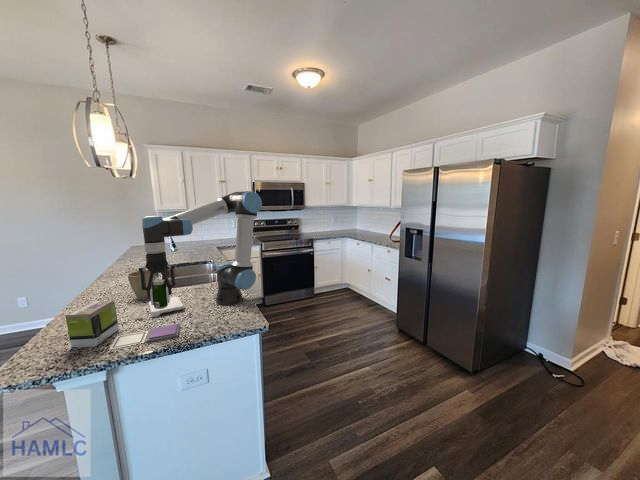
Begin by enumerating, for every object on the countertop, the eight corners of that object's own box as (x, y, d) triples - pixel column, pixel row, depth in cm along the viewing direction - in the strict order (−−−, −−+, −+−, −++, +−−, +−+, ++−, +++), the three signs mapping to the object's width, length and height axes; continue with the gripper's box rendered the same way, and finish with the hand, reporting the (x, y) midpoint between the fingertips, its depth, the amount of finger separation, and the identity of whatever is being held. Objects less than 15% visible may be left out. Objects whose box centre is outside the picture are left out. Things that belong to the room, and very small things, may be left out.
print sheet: (148, 331, 125) (148, 330, 125) (143, 343, 114) (143, 342, 114) (117, 336, 120) (117, 336, 120) (108, 350, 109) (108, 349, 109)
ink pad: (180, 325, 130) (179, 322, 130) (178, 336, 119) (177, 333, 119) (151, 330, 125) (150, 327, 125) (146, 342, 114) (146, 339, 114)
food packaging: (149, 307, 155) (151, 318, 139) (148, 301, 155) (151, 312, 138) (178, 301, 164) (184, 311, 147) (177, 296, 163) (183, 305, 147)
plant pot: (128, 297, 170) (125, 272, 167) (155, 291, 179) (153, 268, 177) (132, 303, 158) (128, 277, 156) (160, 297, 168) (158, 272, 166)
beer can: (164, 309, 118) (161, 282, 116) (151, 309, 117) (148, 283, 116) (170, 304, 123) (167, 279, 121) (158, 304, 123) (155, 279, 121)
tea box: (97, 330, 126) (92, 300, 124) (119, 329, 126) (115, 299, 124) (69, 348, 111) (64, 314, 109) (95, 347, 112) (90, 313, 109)
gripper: (128, 255, 110) (134, 309, 113) (178, 251, 117) (183, 302, 120) (132, 252, 116) (138, 303, 120) (180, 248, 124) (184, 297, 127)
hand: (160, 303), depth 120 cm, fingers closed on beer can, 5 cm apart
